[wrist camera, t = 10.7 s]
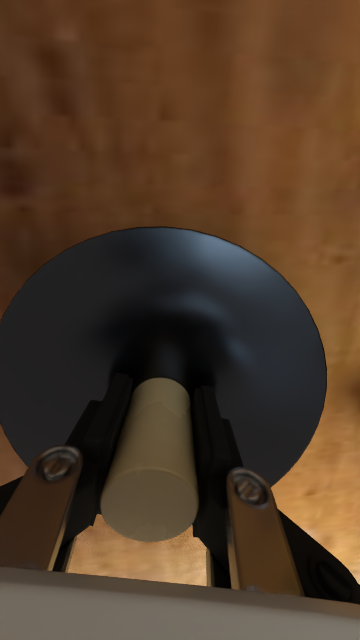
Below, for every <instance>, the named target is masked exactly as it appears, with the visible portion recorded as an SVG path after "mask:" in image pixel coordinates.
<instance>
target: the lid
mask: <svg viewBox="0 0 360 640" xmlns="http://www.w3.org/2000/svg"><path fill="white" fill-rule="evenodd" d="M116 373H122V374H129V378H133V382H132V389H131V396H130V403H129V406H128V409H127V413H126V416H125V419H124V422H123V425H122V429H121V432H120V435H119V438H118V441H117V445H116V448H115V451H114V454H113V458H112V461H111V464H110V467H109V470H108V474H107V477H106V480H105V483H104V486H103V489H102V493H101V497H100V508H101V513H102V516H103V518H104V520H105V521H106V523H107V524H108V525H109V526H110V527H111V528H112V529H113V530H114V531H116V532H117V533H119V534H120V535H122V536H124V537H127V538H130V539H133V540H137V541H143V542H157V541H164V540H168V539H171V538H174V537H176V536H178V535H180V534H181V533H183V532H184V531H186V530H187V529H188V528H189V527H190V526H191V525H192V523H193V522H194V520H195V518H196V516H197V513H198V510H199V493H198V481H197V470H196V459H195V448H194V437H193V425H192V414H191V407H192V402H193V397H194V393H195V389H196V388H200V386H201V385H203V386H209V387H213V389H214V392H215V396H216V400H217V404H218V408H219V412H220V415H221V418H225V419H228V420H229V421H230V424H231V427H232V430H233V433H234V437H235V440H236V443H237V446H238V450H239V453H240V456H241V459H242V463H243V466H244V468H248V469H251V470H253V471H255V472H256V473H258V474H259V475H260V476H262V477H263V478H264V479H265V480H266V482H267V483H268V484H269V486H270V487H272V486H273V485H274V484H276V483H277V482H278V481H279V480H280V479H281V478H282V477H283V476H284V475H285V474H286V473H287V472H289V470H290V469H291V468H292V467H293V466H294V464H295V463H296V462H297V461H298V460H299V458H300V457H301V456H302V454H303V452H304V451H305V449H306V448H307V446H308V445H309V443H310V441H311V439H312V437H313V435H314V433H315V431H316V429H317V427H318V424H319V421H320V417H321V414H322V411H323V408H324V402H325V396H326V390H327V367H326V360H325V353H324V348H323V344H322V341H321V338H320V334H319V331H318V328H317V326H316V324H315V322H314V320H313V318H312V315H311V313H310V311H309V309H308V308H307V306H306V305H305V303H304V302H303V300H302V299H301V297H300V296H299V294H298V293H297V292H296V290H295V289H294V288H293V287H292V286H291V285H290V284H289V283H288V282H287V281H286V279H285V278H284V277H283V276H282V275H281V274H280V273H279V272H277V271H276V270H275V269H274V268H272V267H271V266H270V265H269V264H268V263H266V262H265V261H264V260H263V259H261V258H260V257H258V256H256V255H254V254H253V253H251V252H249V251H248V250H246V249H244V248H243V247H241V246H239V245H237V244H234V243H232V242H229V241H227V240H225V239H222V238H220V237H217V236H214V235H210V234H206V233H203V232H199V231H195V230H191V229H182V228H174V227H165V226H164V227H136V228H130V229H124V230H118V231H112V232H109V233H106V234H102V235H99V236H96V237H93V238H90V239H87V240H85V241H83V242H81V243H79V244H77V245H75V246H73V247H70V248H68V249H66V250H64V251H63V252H61V253H60V254H59V255H57V256H56V257H54V258H53V259H51V260H50V261H48V262H47V263H45V264H44V265H43V266H42V267H41V268H40V269H39V270H38V271H37V272H36V273H34V274H33V275H32V276H31V277H30V278H29V279H28V280H27V281H26V282H25V284H24V285H23V286H22V288H21V289H20V290H19V291H18V293H17V294H16V295H15V296H14V298H13V299H12V301H11V303H10V305H9V306H8V308H7V310H6V312H5V314H4V315H3V317H2V319H1V322H0V424H1V426H2V428H3V431H4V433H5V435H6V437H7V438H8V440H9V442H10V443H11V445H12V447H13V448H14V450H15V452H16V453H17V454H18V455H19V457H20V458H21V459H22V461H23V462H24V463H25V464H26V466H27V467H29V466H30V464H31V462H32V461H33V460H34V458H35V457H36V456H37V455H38V454H39V453H41V452H42V451H43V450H45V449H47V448H49V447H52V446H56V445H64V444H65V443H66V441H67V439H68V438H69V436H70V434H71V432H72V431H73V429H74V427H75V426H76V424H77V422H78V420H79V419H80V417H81V415H82V413H83V412H84V410H85V408H86V407H87V405H88V403H89V402H90V400H97V401H102V400H103V398H104V396H105V394H106V392H107V390H108V388H109V386H110V384H111V382H112V380H113V378H114V376H115V374H116Z"/></svg>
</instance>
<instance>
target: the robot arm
mask: <svg viewBox="0 0 360 640" xmlns="http://www.w3.org/2000/svg"><path fill="white" fill-rule="evenodd" d="M132 382H133V378H129V374H122V373H116V374H115V376H114V378H113V380H112V382H111V384H110V386H109V388H108V390H107V392H106V394H105V396H104V398H103V400H102V401H97V400H90V402H89V403H88V405H87V407H86V408H85V410H84V412H83V413H82V415H81V417H80V419H79V420H78V422H77V424H76V426H75V427H74V429H73V431H72V432H71V434H70V436H69V438H68V439H67V441H66V443H65V444H64V445H56V446H52V447H49V448H47V449H45V450H43V451H42V452H41V453H39V454H38V455H37V456H36V457H35V458H34V460H33V461H32V462H31V464H30V466H29V467H28V469H27V471H26V473H25V474H24V476H22V477H20V478H17V479H15V480H13V481H11V482H9V483H7V484H5V485H3V486H0V640H360V585H359V584H358V583H357V581H356V579H355V578H354V577H353V575H352V574H351V573H350V571H349V570H348V569H347V568H346V567H345V566H344V565H343V564H342V563H341V562H340V561H339V560H338V559H337V558H336V557H334V556H333V555H332V554H331V553H330V552H328V551H327V550H326V549H325V548H324V547H323V546H321V545H320V544H319V543H318V542H317V541H315V540H314V539H313V538H312V537H311V536H309V535H308V534H307V533H306V532H305V531H303V530H302V529H301V528H300V527H299V526H298V525H296V524H295V523H294V522H293V521H292V520H290V519H289V518H288V517H287V516H286V515H284V514H283V513H282V512H281V511H280V510H278V509H277V505H276V502H275V499H274V496H273V493H272V490H271V488H270V486H269V484H268V483H267V482H266V480H265V479H264V478H263V477H262V476H260V475H259V474H258V473H256V472H255V471H253V470H251V469H248V468H244V466H243V463H242V459H241V456H240V453H239V450H238V446H237V443H236V440H235V437H234V433H233V430H232V427H231V424H230V421H229V420H228V419H225V418H221V415H220V412H219V408H218V404H217V400H216V396H215V392H214V389H213V387H209V386H203V385H201V386H200V388H196V389H195V393H194V397H193V402H192V407H191V414H192V425H193V437H194V448H195V459H196V470H197V481H198V493H199V510H198V513H197V516H196V518H195V520H194V522H193V523H192V525H193V537H198V538H200V540H201V541H202V542H203V544H204V545H205V546H206V547H207V549H206V573H207V586H198V585H188V584H178V583H168V582H158V581H148V580H138V579H127V578H117V577H107V576H97V575H86V574H75V573H68V569H69V565H70V562H71V558H72V554H73V551H74V547H75V543H76V539H77V535H78V534H79V533H81V532H82V531H84V530H85V529H86V528H88V527H89V525H90V526H93V524H94V521H95V518H96V515H97V514H102V513H101V508H100V497H101V493H102V489H103V486H104V483H105V480H106V477H107V474H108V470H109V467H110V464H111V461H112V458H113V454H114V451H115V448H116V445H117V441H118V438H119V435H120V432H121V429H122V425H123V422H124V419H125V416H126V413H127V409H128V406H129V403H130V396H131V389H132Z"/></svg>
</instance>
